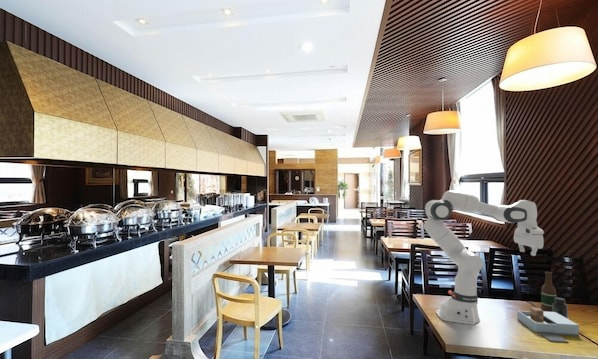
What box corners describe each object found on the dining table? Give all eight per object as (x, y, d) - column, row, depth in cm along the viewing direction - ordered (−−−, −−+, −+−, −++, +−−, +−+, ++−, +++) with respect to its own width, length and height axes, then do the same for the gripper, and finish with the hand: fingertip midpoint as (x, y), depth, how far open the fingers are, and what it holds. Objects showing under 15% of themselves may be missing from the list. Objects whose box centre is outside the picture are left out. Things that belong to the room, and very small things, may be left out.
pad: (550, 341, 146) (550, 340, 146) (539, 333, 154) (539, 332, 154) (568, 342, 145) (568, 341, 145) (555, 334, 153) (555, 333, 153)
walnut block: (535, 321, 160) (535, 310, 160) (530, 318, 164) (530, 307, 164) (543, 322, 159) (543, 310, 160) (538, 318, 163) (538, 307, 163)
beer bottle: (553, 314, 177) (553, 274, 178) (538, 310, 184) (537, 271, 185) (559, 312, 181) (559, 272, 182) (544, 307, 188) (544, 269, 189)
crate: (536, 333, 154) (536, 322, 154) (517, 319, 170) (517, 309, 170) (578, 335, 152) (578, 324, 152) (555, 322, 168) (555, 312, 168)
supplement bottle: (571, 322, 167) (570, 301, 167) (557, 321, 168) (556, 300, 169) (562, 317, 174) (562, 297, 174) (549, 316, 175) (549, 295, 175)
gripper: (510, 226, 178) (510, 249, 177) (533, 231, 157) (533, 257, 157) (521, 226, 177) (522, 250, 177) (546, 231, 157) (546, 257, 156)
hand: (527, 253), depth 167 cm, fingers open, 8 cm apart
